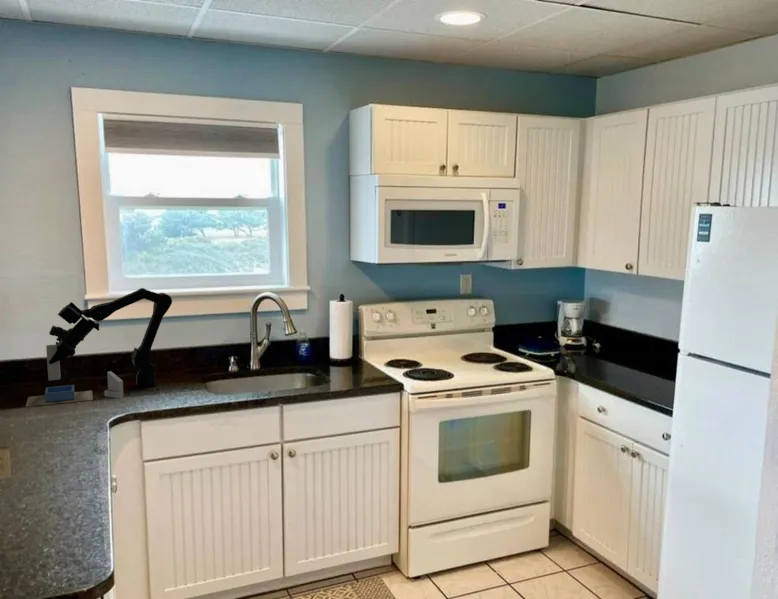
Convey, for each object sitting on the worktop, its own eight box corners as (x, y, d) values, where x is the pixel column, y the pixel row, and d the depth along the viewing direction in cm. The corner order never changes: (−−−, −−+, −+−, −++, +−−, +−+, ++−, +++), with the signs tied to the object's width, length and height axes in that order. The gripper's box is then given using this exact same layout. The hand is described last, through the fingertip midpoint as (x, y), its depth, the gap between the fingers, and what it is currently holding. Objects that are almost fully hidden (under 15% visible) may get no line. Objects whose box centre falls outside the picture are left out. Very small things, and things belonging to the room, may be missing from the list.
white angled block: (103, 388, 250) (111, 371, 248) (120, 403, 248) (128, 386, 245) (95, 391, 247) (103, 373, 245) (113, 406, 245) (121, 388, 242)
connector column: (60, 377, 251) (58, 344, 249) (60, 379, 247) (58, 346, 245) (48, 378, 249) (46, 345, 247) (48, 380, 245) (46, 347, 244)
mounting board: (92, 393, 253) (92, 390, 253) (92, 402, 241) (92, 399, 241) (28, 399, 244) (28, 396, 244) (25, 409, 231) (25, 406, 231)
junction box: (74, 393, 249) (74, 384, 248) (74, 400, 240) (73, 390, 240) (46, 396, 245) (46, 387, 244) (45, 403, 236) (44, 393, 236)
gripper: (61, 315, 255) (31, 345, 251) (63, 321, 239) (31, 353, 235) (84, 332, 260) (55, 362, 256) (88, 340, 244) (57, 372, 240)
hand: (49, 362), depth 246 cm, fingers closed on connector column, 4 cm apart
